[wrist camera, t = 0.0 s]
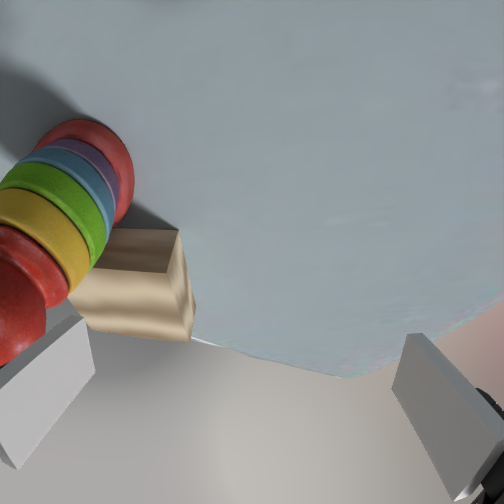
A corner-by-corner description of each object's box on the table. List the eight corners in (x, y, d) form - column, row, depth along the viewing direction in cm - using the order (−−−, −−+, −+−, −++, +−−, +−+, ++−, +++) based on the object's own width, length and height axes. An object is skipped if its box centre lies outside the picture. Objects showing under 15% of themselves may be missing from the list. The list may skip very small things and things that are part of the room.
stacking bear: (27, 174, 23) (-71, 336, 11) (58, 90, 17) (-111, 279, 5) (113, 230, 28) (49, 407, 16) (165, 163, 22) (77, 402, 10)
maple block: (64, 227, 28) (44, 263, 24) (178, 230, 27) (166, 273, 24) (103, 297, 37) (92, 329, 34) (195, 306, 37) (189, 343, 34)
